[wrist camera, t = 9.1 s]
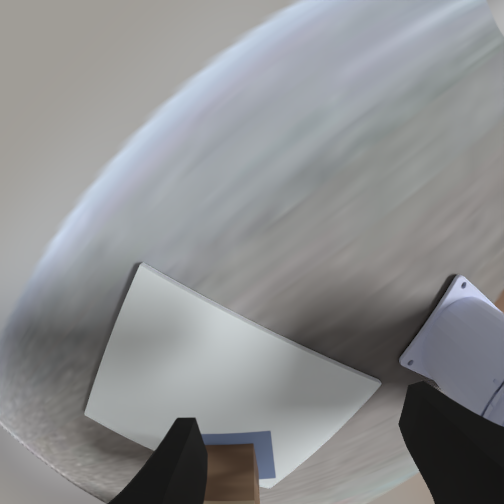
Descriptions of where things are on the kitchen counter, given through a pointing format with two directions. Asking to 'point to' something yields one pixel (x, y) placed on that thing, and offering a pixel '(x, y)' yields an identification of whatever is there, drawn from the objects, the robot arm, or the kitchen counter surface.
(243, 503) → the maple block
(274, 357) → the white square board
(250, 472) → the walnut block
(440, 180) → the kitchen counter surface
